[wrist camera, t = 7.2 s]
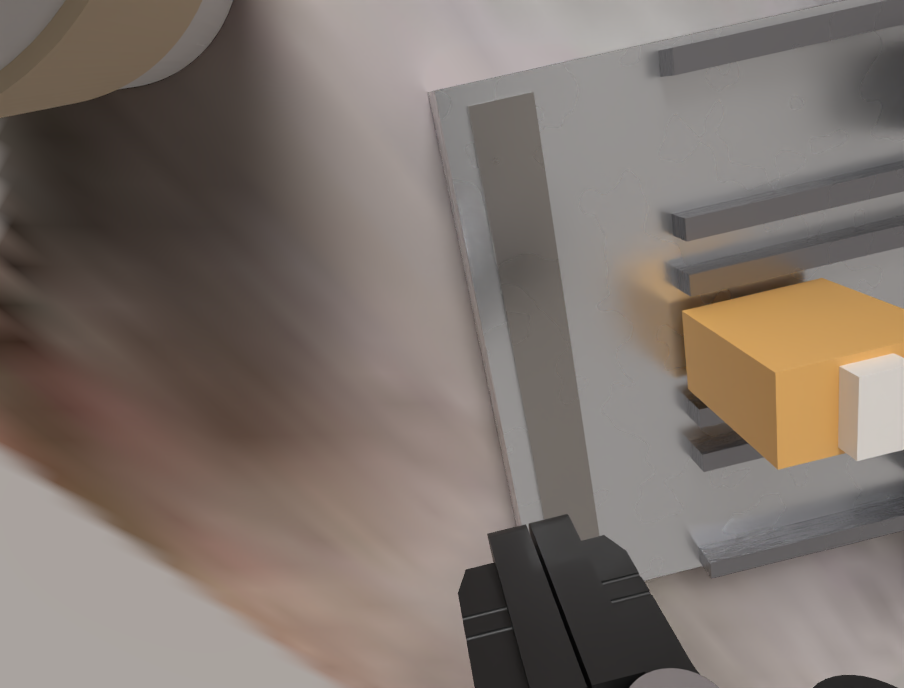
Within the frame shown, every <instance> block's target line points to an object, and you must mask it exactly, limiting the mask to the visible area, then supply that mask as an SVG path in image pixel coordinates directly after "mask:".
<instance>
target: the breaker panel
mask: <svg viewBox="0 0 904 688" xmlns="http://www.w3.org/2000/svg"><path fill="white" fill-rule="evenodd" d="M428 95H429V100H430V105H431V109H432V114H433V119H434V124H435V129H436V134H437V139H438V144H439V149H440V154H441V158H442V163H443V168H444V173H445V178H446V183H447V188H448V193H449V198H450V203H451V207H452V212H453V217H454V222H455V227H456V232H457V237H458V242H459V247H460V251H461V256H462V261H463V266H464V271H465V276H466V281H467V286H468V291H469V296H470V300H471V305H472V310H473V315H474V320H475V325H476V330H477V335H478V340H479V345H480V349H481V354H482V359H483V364H484V369H485V374H486V379H487V384H488V389H489V393H490V398H491V403H492V408H493V413H494V418H495V423H496V428H497V433H498V438H499V442H500V447H501V452H502V457H503V462H504V467H505V472H506V477H507V482H508V487H509V491H510V496H511V501H512V506H513V511H514V516H515V521H516V526H521V525H525V524H526V526H527V528H528V530H529V523H532V522H536V521H540V520H544V519H549V518H553V517H557V516H561V515H565V514H568V515H569V517H570V519H571V521H572V523H573V525H574V527H575V529H576V531H577V533H578V535H579V537H580V539H581V541H582V540H586V539H590V538H594V537H598V536H602V535H605V536H606V537H608V538H609V539H610V540H612V541H613V542H615V543H616V544H618V545H619V546H620V547H622V548H623V549H625V550H626V551H627V553H628V555H629V556H630V558H631V560H632V562H633V563H634V565H635V567H636V568H637V570H638V572H639V575H640V577H642V579H643V580H644V581H645V580H649V579H653V578H657V577H661V576H665V575H669V574H673V573H677V572H681V571H685V570H689V569H693V568H697V567H701V566H703V567H704V569H705V570H706V571H707V573H708V574H709V576H710V577H711V578H716V577H720V576H724V575H728V574H732V573H736V572H740V571H744V570H748V569H752V568H756V567H760V566H764V565H768V564H772V563H776V562H780V561H784V560H788V559H792V558H796V557H800V556H804V555H808V554H812V553H816V552H820V551H824V550H828V549H832V548H836V547H840V546H844V545H848V544H852V543H856V542H860V541H864V540H868V539H872V538H876V537H880V536H884V535H888V534H892V533H896V532H900V531H904V450H901V451H897V452H893V453H888V454H884V455H880V456H876V457H872V458H868V459H864V460H860V461H856V460H855V459H853V458H852V457H851V456H849V455H848V454H846V453H844V454H840V455H836V456H832V457H828V458H824V459H820V460H816V461H812V462H808V463H803V464H799V465H795V466H791V467H787V468H783V469H779V470H777V469H776V468H775V467H774V466H773V465H772V464H771V463H770V462H769V461H767V460H766V459H765V458H764V457H763V456H762V455H761V454H760V453H759V452H757V451H756V450H755V449H754V448H753V447H752V446H751V445H750V444H749V443H747V442H746V441H745V440H744V439H743V438H742V437H741V436H740V435H739V434H737V433H736V432H735V431H734V430H733V429H732V428H731V427H730V426H729V425H727V424H726V423H725V422H724V421H723V420H722V419H721V418H720V417H719V416H717V415H716V414H715V413H714V412H713V411H712V410H711V409H710V408H709V407H707V406H706V405H705V404H704V403H703V402H702V401H701V400H700V399H699V398H697V397H696V396H695V395H694V394H693V393H692V392H691V391H690V390H689V389H688V382H687V370H686V357H685V344H684V332H683V319H682V311H683V310H687V309H692V308H696V307H700V306H704V305H709V304H713V303H717V302H721V301H726V300H730V299H734V298H738V297H743V296H747V295H751V294H755V293H760V292H764V291H768V290H772V289H777V288H781V287H785V286H789V285H794V284H798V283H802V282H806V281H811V280H815V279H819V278H824V279H827V280H829V281H832V282H834V283H837V284H840V285H842V286H845V287H848V288H850V289H853V290H855V291H858V292H861V293H863V294H866V295H869V296H871V297H874V298H876V299H879V300H882V301H884V302H887V303H890V304H892V305H895V306H897V307H900V308H903V309H904V0H844V1H839V2H835V3H830V4H826V5H821V6H817V7H812V8H808V9H803V10H799V11H794V12H789V13H785V14H780V15H776V16H771V17H767V18H762V19H758V20H753V21H749V22H744V23H740V24H735V25H731V26H726V27H722V28H717V29H712V30H708V31H703V32H699V33H694V34H690V35H685V36H681V37H676V38H672V39H667V40H663V41H658V42H654V43H649V44H644V45H640V46H635V47H631V48H626V49H622V50H617V51H613V52H608V53H604V54H599V55H595V56H590V57H586V58H581V59H577V60H572V61H567V62H563V63H558V64H554V65H549V66H545V67H540V68H536V69H531V70H527V71H522V72H518V73H513V74H509V75H504V76H499V77H495V78H490V79H486V80H481V81H477V82H472V83H468V84H463V85H459V86H454V87H450V88H445V89H441V90H436V91H432V92H428ZM529 533H530V532H529Z"/></svg>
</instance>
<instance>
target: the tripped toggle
mask: <svg viewBox="0 0 904 688" xmlns="http://www.w3.org/2000/svg"><path fill="white" fill-rule="evenodd" d="M682 319H683V332H684V344H685V357H686V370H687V382H688V389H689V390H690V391H691V392H692V393H693V394H694V395H695V396H696V397H697V398H699V399H700V400H701V401H702V402H703V403H704V404H705V405H706V406H707V407H709V408H710V409H711V410H712V411H713V412H714V413H715V414H716V415H717V416H719V417H720V418H721V419H722V420H723V421H724V422H725V423H726V424H727V425H729V426H730V427H731V428H732V429H733V430H734V431H735V432H736V433H737V434H739V435H740V436H741V437H742V438H743V439H744V440H745V441H746V442H747V443H749V444H750V445H751V446H752V447H753V448H754V449H755V450H756V451H757V452H759V453H760V454H761V455H762V456H763V457H764V458H765V459H766V460H767V461H769V462H770V463H771V464H772V465H773V466H774V467H775V468H776V469H777V470H779V469H783V468H787V467H791V466H795V465H799V464H803V463H808V462H812V461H816V460H820V459H824V458H828V457H832V456H836V455H840V454H844V453H846V454H848V455H849V456H851V457H852V458H853V459H855V460H856V461H860V460H864V459H868V458H872V457H876V456H880V455H884V454H888V453H893V452H897V451H901V450H904V309H903V308H900V307H897V306H895V305H892V304H890V303H887V302H884V301H882V300H879V299H876V298H874V297H871V296H869V295H866V294H863V293H861V292H858V291H855V290H853V289H850V288H848V287H845V286H842V285H840V284H837V283H834V282H832V281H829V280H827V279H824V278H819V279H815V280H811V281H806V282H802V283H798V284H794V285H789V286H785V287H781V288H777V289H772V290H768V291H764V292H760V293H755V294H751V295H747V296H743V297H738V298H734V299H730V300H726V301H721V302H717V303H713V304H709V305H704V306H700V307H696V308H692V309H687V310H683V311H682Z"/></svg>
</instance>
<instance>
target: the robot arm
mask: <svg viewBox="0 0 904 688" xmlns="http://www.w3.org/2000/svg"><path fill="white" fill-rule="evenodd" d="M529 532H530V533H529ZM487 535H488V540H489V544H490V549H491V553H492V557H493V562H494V563H491V564H487V565H483V566H479V567H475V568H471V569H467V570H466V571H465V574H464V577H463V580H462V583H461V586H460V589H459V592H458V596H459V601H460V607H461V613H462V618H463V624H464V630H465V635H466V640H467V646H468V652H469V658H470V663H471V669H472V675H473V680H474V686H475V688H719V687H718V686H717V685H715V684H714V683H713V682H712V681H710V680H709V679H707V678H706V677H704V676H701V675H700V674H699V673H698V671H697V670H696V669H695V667H694V666H693V664H692V663H691V661H690V660H689V658H688V656H687V654H686V653H685V651H684V649H683V647H682V646H681V644H680V642H679V641H678V639H677V637H676V635H675V634H674V632H673V630H672V629H671V627H670V625H669V623H668V622H667V620H666V618H665V617H664V615H663V613H662V611H661V610H660V608H659V606H658V605H657V603H656V601H655V599H654V598H653V596H652V595H651V594H650V592H649V589H648V587H647V586H646V584H645V582H644V580H643V579H642V577H640V575H639V572H638V570H637V568H636V567H635V565H634V563H633V562H632V560H631V558H630V556H629V555H628V553H627V551H626V550H625V549H623V548H622V547H620V546H619V545H618V544H616V543H615V542H613V541H612V540H610V539H609V538H608V537H606V536H605V535H602V536H598V537H594V538H590V539H586V540H582V541H581V539H580V537H579V535H578V533H577V531H576V529H575V527H574V525H573V523H572V521H571V519H570V517H569V515H568V514H565V515H561V516H557V517H553V518H549V519H544V520H540V521H536V522H532V523H529V530H528V528H527V526H526V524H525V525H521V526H517V527H513V528H509V529H505V530H501V531H497V532H493V533H489V534H487ZM813 688H897V687H895V686H892V685H890V684H888V683H885V682H882V681H879V680H877V679H873V678H869V677H865V676H857V675H841V676H834V677H831V678H828V679H825V680H823V681H821V682H819V683H818V684H817V685H816V686H814V687H813Z"/></svg>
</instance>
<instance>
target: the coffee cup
mask: <svg viewBox="0 0 904 688" xmlns="http://www.w3.org/2000/svg"><path fill="white" fill-rule="evenodd" d="M232 2H233V0H0V118H3V117H8V116H13V115H18V114H23V113H28V112H34V111H39V110H44V109H49V108H54V107H59V106H64V105H69V104H74V103H79V102H84V101H88V100H91V99H94V98H98V97H100V96H103V95H106V94H108V93H111V92H113V91H115V90H118V89H124V88H131V87H137V86H142V85H147V84H150V83H154V82H157V81H159V80H162V79H164V78H167V77H169V76H171V75H173V74H175V73H176V72H178V71H180V70H181V69H183V68H184V67H186V66H187V65H188V64H190V63H191V62H192V61H194V60H195V59H196V58H197V57H198V56H199V55H200V54H201V53H202V52H203V51H204V50H205V49H206V48H207V47H208V46H209V44H210V43H211V42H212V40H213V39H214V38H215V36H216V35H217V33H218V32H219V30H220V29H221V27H222V25H223V23H224V21H225V19H226V17H227V15H228V13H229V10H230V8H231V5H232Z"/></svg>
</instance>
